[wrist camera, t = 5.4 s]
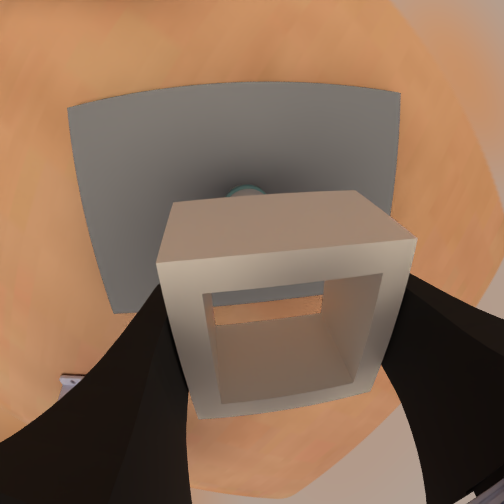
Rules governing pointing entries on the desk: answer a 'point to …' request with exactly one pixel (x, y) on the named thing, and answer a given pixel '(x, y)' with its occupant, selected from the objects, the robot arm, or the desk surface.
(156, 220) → the shaft board
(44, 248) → the desk surface
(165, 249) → the collar
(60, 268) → the desk surface
